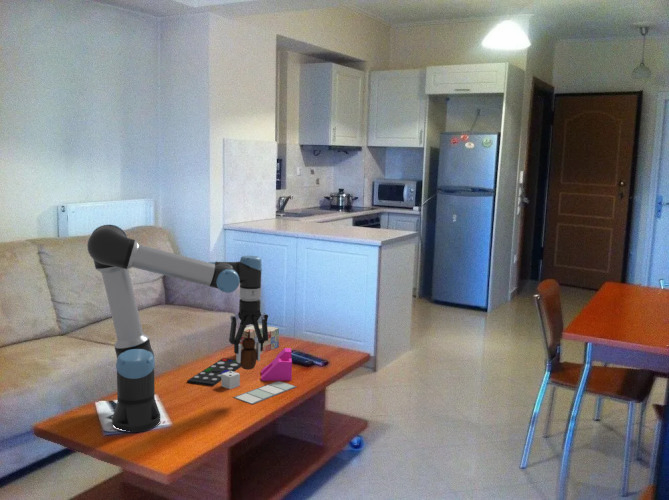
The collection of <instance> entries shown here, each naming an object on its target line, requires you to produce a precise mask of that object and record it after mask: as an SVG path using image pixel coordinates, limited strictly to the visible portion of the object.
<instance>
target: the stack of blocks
mask: <svg viewBox="0 0 669 500" xmlns="http://www.w3.org/2000/svg"><path fill="white" fill-rule="evenodd" d="M259 329H260V332H261V335H262V337H263V333H262V324H259ZM267 329H268V341H264V343H263V350H262V351H260V355H263V354H264V353H267V352H270V351H272V350H275V349H277V348H279V347H280V345H279V344H280V335H279V334H280V329H279V327H275V326H268V325H267ZM249 330H250V338H253V339H254V340H255V347H254V348H255V349H256V342H259V341H258V338H257V335H256V332H255V329H254V326H253V325H248V326H246V328H245V329H244V332H243V335H242V337H241V340H240V343H239V344H240V345H241V351H242V349H243V346H242V342H243V340H244V338H248V332H249Z"/></svg>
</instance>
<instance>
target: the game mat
mask: <svg viewBox="0 0 669 500" xmlns="http://www.w3.org/2000/svg"><path fill="white" fill-rule="evenodd" d="M295 388H297V385H296V386H295V385H293V384H290V383H287V382H283V381H282V380H275V381H272V382H271V383H268V384H265V385H262V386H260V387H257V388H254V389H252V390H248V391H247V392H243V393H240V394H238V395H235V396H233V397H232V398H234V399H236V400H239V401H241V402H244V403H246V404H250V405H251V406H252V405H255V404H258V403H260V402H263V401H265V400H268V399H270V398H273V397H275V396H278V395H281V394H283V393H285V391H286V392H288V391H290V390H293V389H295Z"/></svg>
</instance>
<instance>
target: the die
mask: <svg viewBox="0 0 669 500" xmlns="http://www.w3.org/2000/svg"><path fill="white" fill-rule="evenodd" d="M240 375H241V374H240V373H239V372H236V371H234V372H233V371H229V372H226V373H223V374H221V381H220V384H221V386H220V387H223V388H225V389H229V390H232V389H235V388H237V387H240V386H241V376H240Z"/></svg>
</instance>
